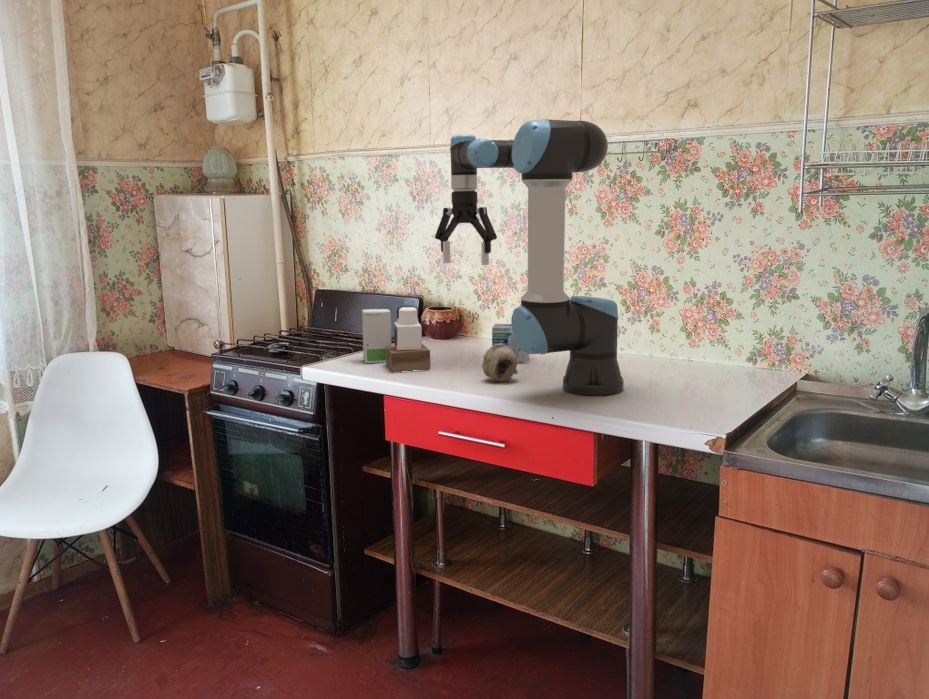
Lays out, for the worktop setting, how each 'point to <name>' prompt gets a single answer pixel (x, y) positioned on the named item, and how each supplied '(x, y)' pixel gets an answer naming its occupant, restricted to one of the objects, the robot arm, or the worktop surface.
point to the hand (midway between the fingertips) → (465, 264)
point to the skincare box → (376, 334)
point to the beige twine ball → (499, 363)
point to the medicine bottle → (407, 329)
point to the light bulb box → (508, 340)
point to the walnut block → (407, 359)
